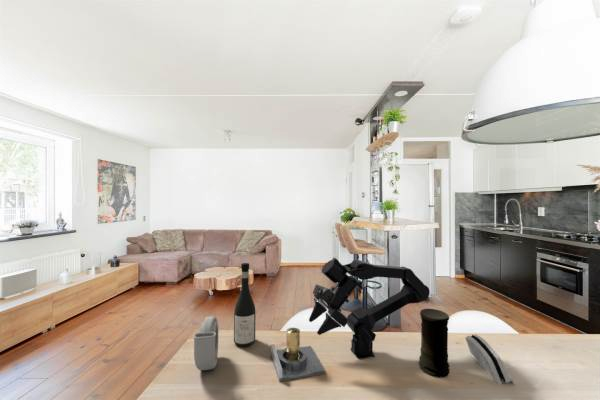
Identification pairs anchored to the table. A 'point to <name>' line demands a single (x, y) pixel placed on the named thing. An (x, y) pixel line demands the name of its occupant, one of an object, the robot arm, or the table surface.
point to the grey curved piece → (488, 359)
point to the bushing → (293, 344)
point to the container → (434, 343)
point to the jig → (296, 364)
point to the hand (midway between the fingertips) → (313, 327)
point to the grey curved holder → (206, 344)
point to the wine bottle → (244, 313)
